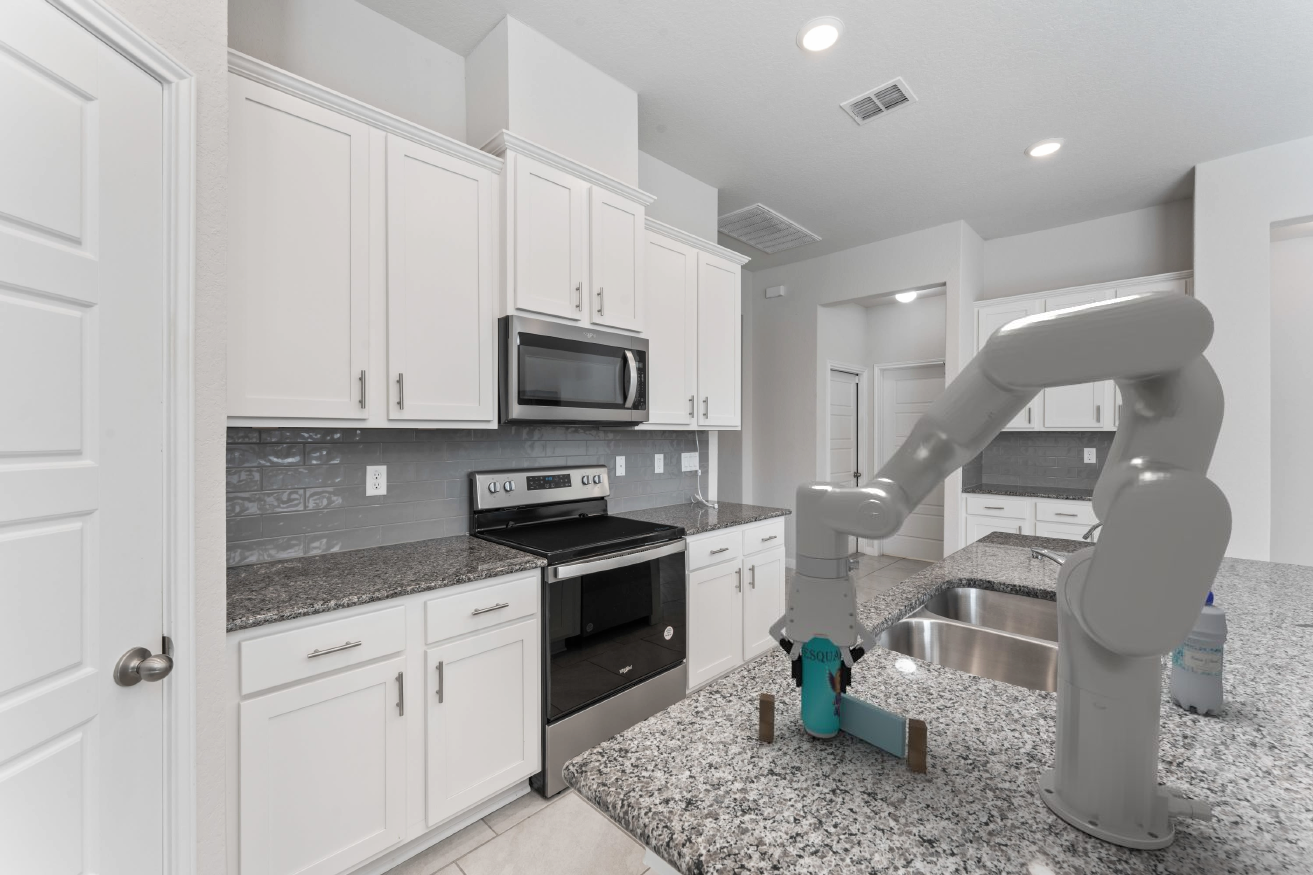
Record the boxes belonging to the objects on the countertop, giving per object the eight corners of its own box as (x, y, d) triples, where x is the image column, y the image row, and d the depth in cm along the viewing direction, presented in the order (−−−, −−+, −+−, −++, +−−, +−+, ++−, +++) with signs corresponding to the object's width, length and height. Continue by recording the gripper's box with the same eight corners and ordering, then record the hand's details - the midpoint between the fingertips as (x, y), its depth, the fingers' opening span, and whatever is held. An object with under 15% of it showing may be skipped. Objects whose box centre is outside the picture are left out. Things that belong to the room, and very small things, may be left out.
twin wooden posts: (923, 761, 75) (924, 718, 75) (926, 773, 72) (927, 728, 72) (760, 732, 81) (761, 692, 81) (758, 741, 79) (758, 700, 79)
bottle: (1175, 711, 89) (1180, 589, 88) (1161, 693, 95) (1165, 579, 94) (1232, 723, 85) (1238, 596, 85) (1213, 703, 91) (1218, 585, 91)
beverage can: (833, 745, 77) (833, 639, 77) (794, 731, 81) (795, 630, 81) (846, 728, 82) (847, 627, 82) (809, 715, 85) (810, 619, 85)
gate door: (905, 754, 76) (906, 718, 76) (901, 757, 75) (902, 721, 75) (806, 707, 88) (807, 676, 88) (802, 709, 87) (803, 679, 87)
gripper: (882, 563, 82) (881, 683, 82) (765, 555, 87) (765, 668, 88) (887, 577, 75) (885, 707, 75) (759, 567, 80) (759, 689, 80)
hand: (820, 685), depth 81 cm, fingers closed on beverage can, 5 cm apart
